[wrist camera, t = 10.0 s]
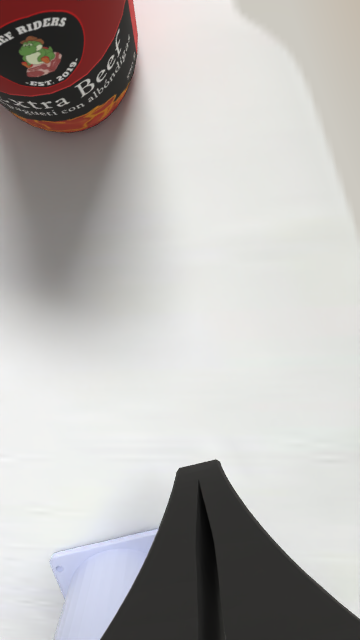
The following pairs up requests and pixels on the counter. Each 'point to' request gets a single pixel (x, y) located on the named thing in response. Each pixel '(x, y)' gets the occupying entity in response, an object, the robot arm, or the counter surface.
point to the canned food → (66, 60)
